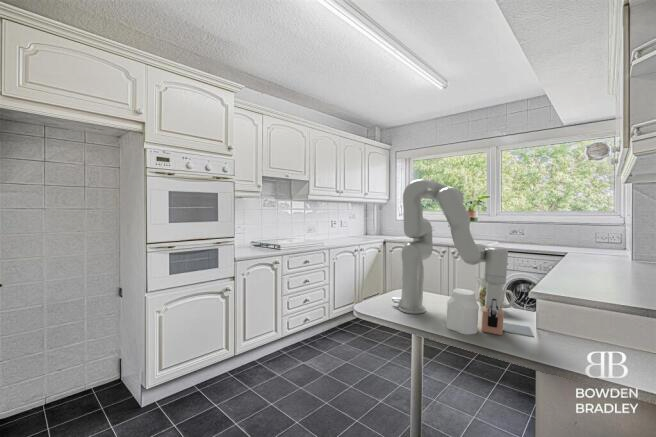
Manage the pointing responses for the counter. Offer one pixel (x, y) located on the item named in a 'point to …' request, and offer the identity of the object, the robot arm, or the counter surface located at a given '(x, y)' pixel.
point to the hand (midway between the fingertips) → (491, 322)
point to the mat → (517, 329)
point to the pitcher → (483, 294)
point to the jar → (462, 312)
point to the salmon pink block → (485, 322)
